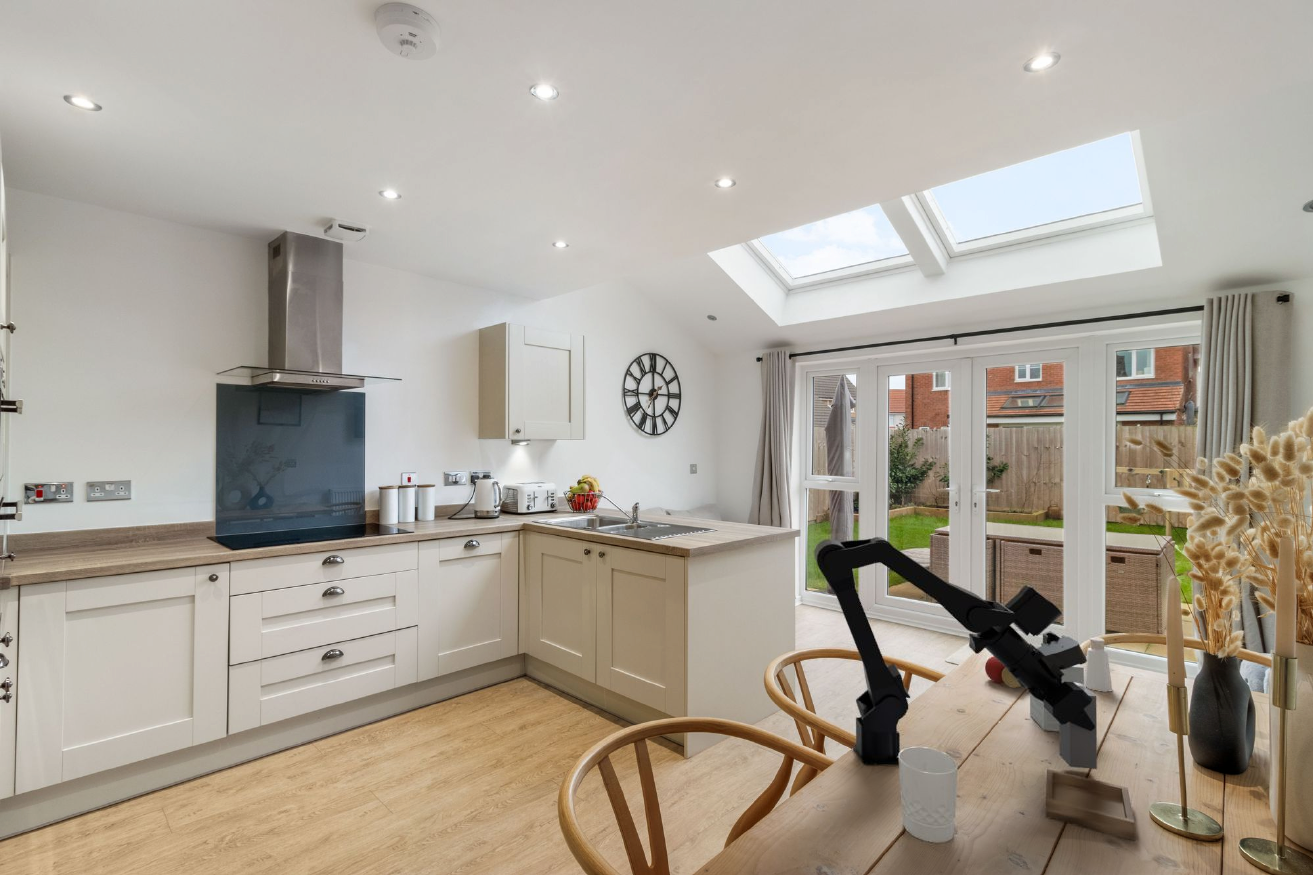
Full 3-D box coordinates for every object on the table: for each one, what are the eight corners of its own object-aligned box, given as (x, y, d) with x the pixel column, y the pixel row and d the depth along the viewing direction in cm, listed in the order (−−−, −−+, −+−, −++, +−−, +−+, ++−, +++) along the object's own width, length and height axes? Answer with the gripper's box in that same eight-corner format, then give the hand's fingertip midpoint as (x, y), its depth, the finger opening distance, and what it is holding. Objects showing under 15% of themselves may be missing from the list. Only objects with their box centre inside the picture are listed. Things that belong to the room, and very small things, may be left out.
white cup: (954, 853, 86) (953, 779, 86) (893, 834, 90) (893, 764, 90) (961, 823, 93) (960, 755, 93) (904, 807, 97) (904, 741, 97)
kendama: (1078, 704, 138) (995, 669, 152) (1080, 678, 136) (996, 645, 151) (1062, 719, 133) (977, 681, 148) (1063, 692, 132) (978, 657, 147)
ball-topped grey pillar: (1070, 766, 105) (1069, 688, 105) (1059, 754, 109) (1059, 679, 109) (1096, 768, 105) (1096, 690, 105) (1085, 757, 109) (1084, 680, 109)
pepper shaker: (1118, 692, 140) (1117, 642, 141) (1093, 692, 141) (1093, 642, 141) (1101, 682, 146) (1101, 635, 146) (1077, 683, 146) (1077, 635, 146)
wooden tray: (1045, 816, 94) (1045, 800, 94) (1047, 784, 103) (1046, 768, 103) (1134, 840, 89) (1134, 822, 89) (1127, 803, 98) (1127, 787, 98)
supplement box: (1086, 734, 121) (1085, 667, 121) (1043, 730, 122) (1042, 665, 122) (1069, 717, 128) (1068, 654, 128) (1028, 714, 129) (1028, 652, 129)
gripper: (1077, 638, 99) (1157, 715, 97) (1029, 607, 117) (1096, 671, 115) (1022, 686, 100) (1100, 762, 98) (983, 648, 118) (1048, 711, 116)
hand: (1086, 723), depth 107 cm, fingers closed on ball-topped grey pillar, 4 cm apart
